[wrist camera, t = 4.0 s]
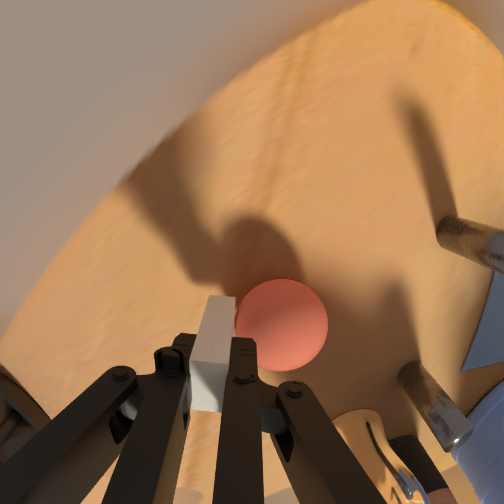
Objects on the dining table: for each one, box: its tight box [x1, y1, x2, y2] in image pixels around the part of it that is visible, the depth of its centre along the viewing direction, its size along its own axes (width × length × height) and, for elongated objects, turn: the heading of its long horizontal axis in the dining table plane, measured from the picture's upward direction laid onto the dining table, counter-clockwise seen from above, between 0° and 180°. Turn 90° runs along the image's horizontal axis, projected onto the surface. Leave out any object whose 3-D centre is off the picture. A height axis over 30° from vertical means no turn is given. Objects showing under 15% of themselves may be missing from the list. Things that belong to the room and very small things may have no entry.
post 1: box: [398, 361, 474, 452], centre depth 18 cm, size 3×3×9 cm
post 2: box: [437, 215, 504, 276], centre depth 15 cm, size 3×3×9 cm
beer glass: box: [332, 409, 431, 504], centre depth 17 cm, size 7×7×15 cm
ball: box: [235, 279, 328, 371], centre depth 17 cm, size 6×6×6 cm
